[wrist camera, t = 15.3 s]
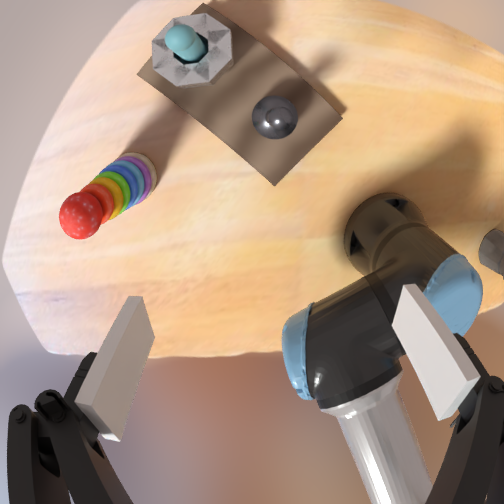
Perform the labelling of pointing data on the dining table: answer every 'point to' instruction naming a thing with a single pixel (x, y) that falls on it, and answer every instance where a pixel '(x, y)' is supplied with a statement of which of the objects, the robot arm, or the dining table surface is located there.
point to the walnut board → (252, 103)
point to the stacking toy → (108, 195)
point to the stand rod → (274, 117)
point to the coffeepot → (493, 251)
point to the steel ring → (208, 67)
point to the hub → (186, 44)
